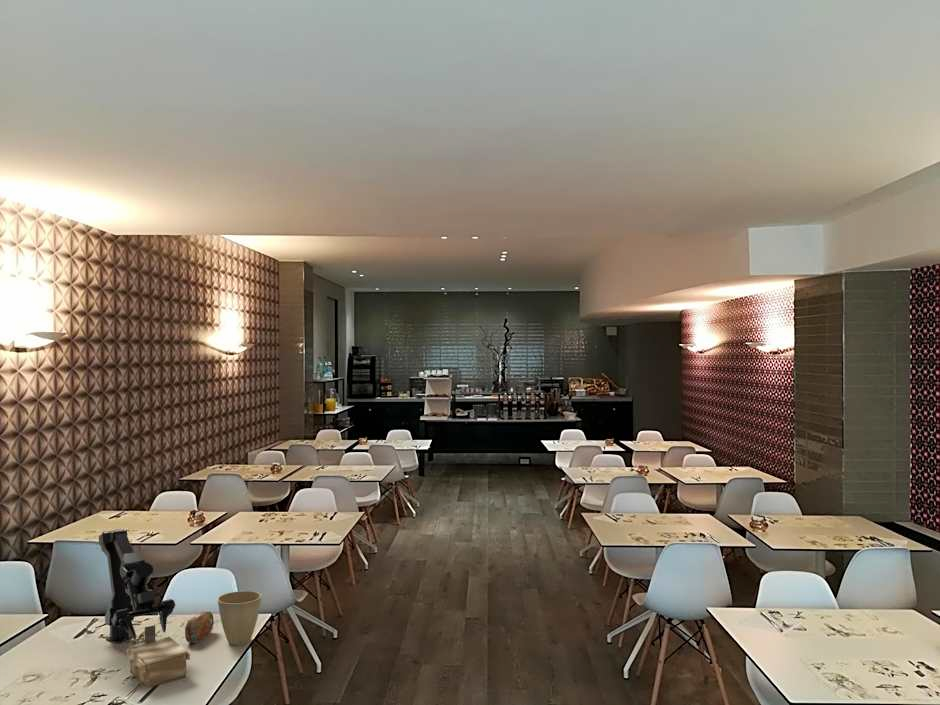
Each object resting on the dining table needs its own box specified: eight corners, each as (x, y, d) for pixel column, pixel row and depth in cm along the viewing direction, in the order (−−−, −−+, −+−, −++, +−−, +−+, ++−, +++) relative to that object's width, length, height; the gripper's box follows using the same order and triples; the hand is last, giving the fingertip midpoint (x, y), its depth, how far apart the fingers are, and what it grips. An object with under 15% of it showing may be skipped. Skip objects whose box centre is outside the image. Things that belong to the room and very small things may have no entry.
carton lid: (126, 655, 237) (126, 631, 237) (170, 644, 247) (170, 621, 247) (143, 672, 225) (143, 646, 225) (189, 659, 234) (189, 634, 234)
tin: (191, 646, 259) (191, 622, 259) (183, 646, 259) (183, 622, 259) (214, 631, 273) (214, 608, 274) (206, 630, 274) (206, 607, 274)
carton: (130, 671, 238) (130, 649, 238) (168, 661, 246) (168, 640, 246) (146, 688, 226) (146, 665, 226) (186, 677, 234) (186, 654, 234)
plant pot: (253, 650, 255) (253, 603, 255) (211, 649, 256) (211, 603, 256) (266, 634, 270) (266, 590, 270) (226, 634, 270) (226, 590, 271)
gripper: (114, 586, 239) (125, 629, 231) (173, 574, 252) (185, 615, 243) (107, 604, 245) (117, 647, 237) (165, 593, 258) (176, 633, 249)
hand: (150, 635), depth 241 cm, fingers open, 9 cm apart
